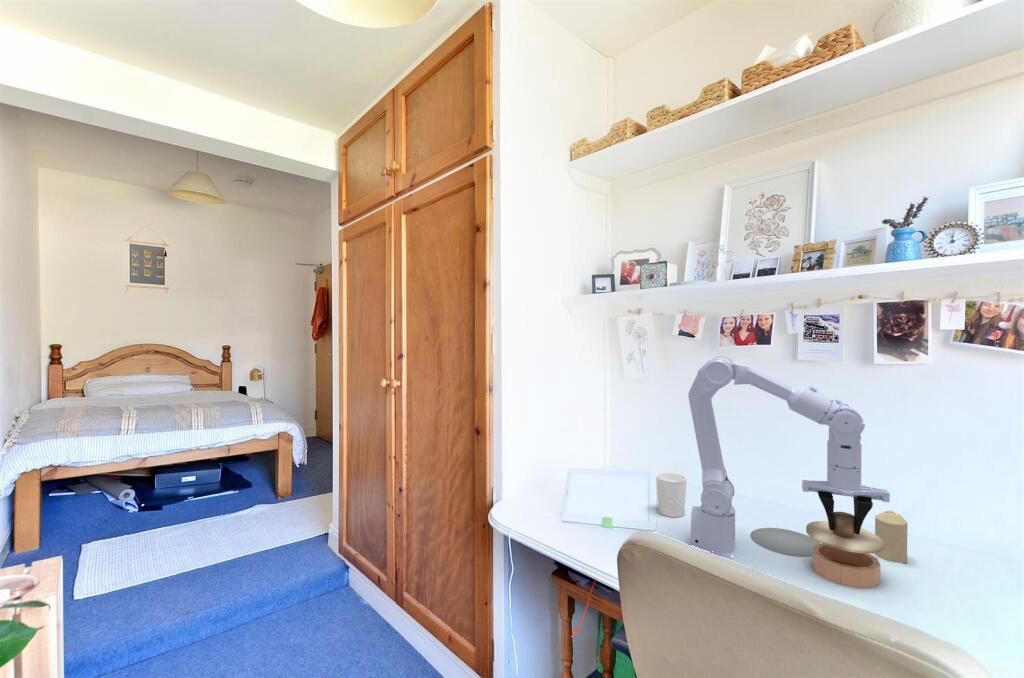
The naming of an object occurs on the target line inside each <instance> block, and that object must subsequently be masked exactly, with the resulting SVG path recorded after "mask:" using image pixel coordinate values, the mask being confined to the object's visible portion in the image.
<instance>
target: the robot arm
mask: <svg viewBox="0 0 1024 678" xmlns="http://www.w3.org/2000/svg"><path fill="white" fill-rule="evenodd" d="M733 380H734V383H733V385H735V386H736V385H750V386H753V387H755V388H757V389H759V390H762V391H764V392H767V393H768V394H770V395H773V396H775V397H778V398H779V399H782V400H784V401H785V402H786V403H787V406H788V408H789V410H791V411H792V412H795V413H797V414H799V415H800V416H803V417H805V418H806V419H809V420H811V421H813V422H815V423H817V424H819V425H820V426H821V425H822V426H823V425H826V426H828V439H827V442H826V443H827V444H826V445H827V448H826V449H827V450H826V451H827V452H826V455H827V458H826V459H827V462H826V463H827V464H826V468H827V469H826V471H827V472H826V480H807V479H801V490H802V492H803V493H805V492H806V493H809V492H811V493H812V492H813V493H817V495H818V498H819V500H820V502H821V504H822V506H823V508H824V511H825V514H826V518H827V521H828V524H829V529H830V530H833V531H834V517H833V514H834V512H835V511H834V509H835V500H834V495H836V496H844V497H852V498H853V516H855V530H854V532H855V534H858V535H859V534H860V529H861V528H862V525H863V523H864V520H865V519H866V517H867V515H868V514H869V512H870V511H871V510H872V509H873V505H874V502H873V500H875V501H881V502H883V503H890V499H891V498H890V497H891V496H890V492H889V490H888V489H884V488H878V487H871V486H866V485H862V447H863V445H862V443H861V440H862V436H861V434H862V433H863V432H864V430H865V423H864V420H863V418H862V416H861V415H860V414H859V412H858V411H857V410H856V409H854V408H853V407H852V406H850V405H849V404H847V403H843V402H842V400H840V399H838V398H836V399H832V398H831V397H828V396H826V395H824V394H822V393H820V392H818V389H817V388H816V387H813V386H809V387H807V386H805V385H802V386H798V387H793V386H790V385H789V384H786V383H784V382H783V381H781V380H779V379H777V378H775V377H773V376H771V375H769V374H767V373H765V372H764V371H761V370H759V369H757V368H755V367H753V366H752V365H749V364H745V363H744V362H740V361H737V360H732V359H731V358H729V357H726V356H722V355H721V356H716V357H713V358H712V359H710V360H708V361H707V362H705V364H703V365H702V366H701V367H700V368H699V369H698V371H697V373H696V376H695V378H694V381H693V383H692V384H691V387H690V389H689V391H688V395H687V396H688V397H687V398H688V401H689V407H690V412H691V417H692V423H693V427H694V429H693V430H694V434H695V439H696V444H697V448H698V449H697V450H698V455H699V460H700V464H701V465H700V466H701V471H702V474H701V482H702V493H701V495H700V503H701V505H700V506H699V505H698V506H696V505H693V506H692V508H691V514H690V516H691V517H690V546H691V545H693V546H695V547H698V548H700V549H703V550H706V551H709V552H712V551H713V552H712V553H714V554H713V555H718V556H723V557H727V556H728V558H731V557H730V556H731V555H733V556H734V557H736V555H737V554H738V545H739V543H738V542H737V541H736V509H735V507H734V506H733V505H732V503H733V502H732V501H733V497H734V496H735V486H734V485H733V483H732V482H731V480H730V479H729V476H728V472H727V469H726V467H725V464H724V459H723V455H722V448H721V444H720V439H719V433H718V429H717V423H716V417H715V413H714V407H713V401H712V398H713V397H714V396H715V395H716V393H717V392H718V391H719V390H720V389H723V388H724V387H726V386H727V385H729V384H730V382H731V381H733ZM712 553H711V554H712ZM724 555H725V556H724ZM736 558H737V557H736Z"/></svg>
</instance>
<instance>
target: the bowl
mask: <svg viewBox="0 0 1024 678" xmlns="http://www.w3.org/2000/svg"><path fill="white" fill-rule="evenodd" d="M812 568H813V571H814V572H816V573H817V574H818V575H820V577H822V578H823V579H825V580H828V581H830V582H833V583H835V584H837V585H841V586H845V587H850V588H855V589H875V588H876V587H878V586H879V585H881V569H882V568H881V563H880V562H879V559H878V558H877V557H876V556H874V555H872V554H871V553H869V554H866V553H854V552H848V551H843V550H839V549H836V548H832V547H829V546H827V545H824V544H822V543H821V544H818V545H816V546H814V547H813V557H812Z"/></svg>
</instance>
